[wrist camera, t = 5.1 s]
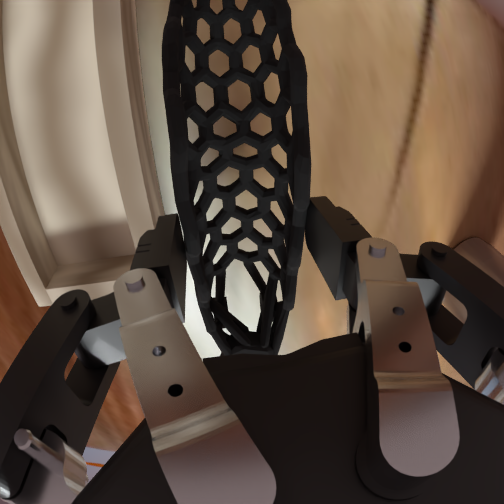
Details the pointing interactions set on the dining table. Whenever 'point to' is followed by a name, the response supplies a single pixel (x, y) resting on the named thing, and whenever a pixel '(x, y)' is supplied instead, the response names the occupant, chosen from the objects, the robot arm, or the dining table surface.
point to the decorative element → (238, 162)
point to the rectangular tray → (73, 144)
